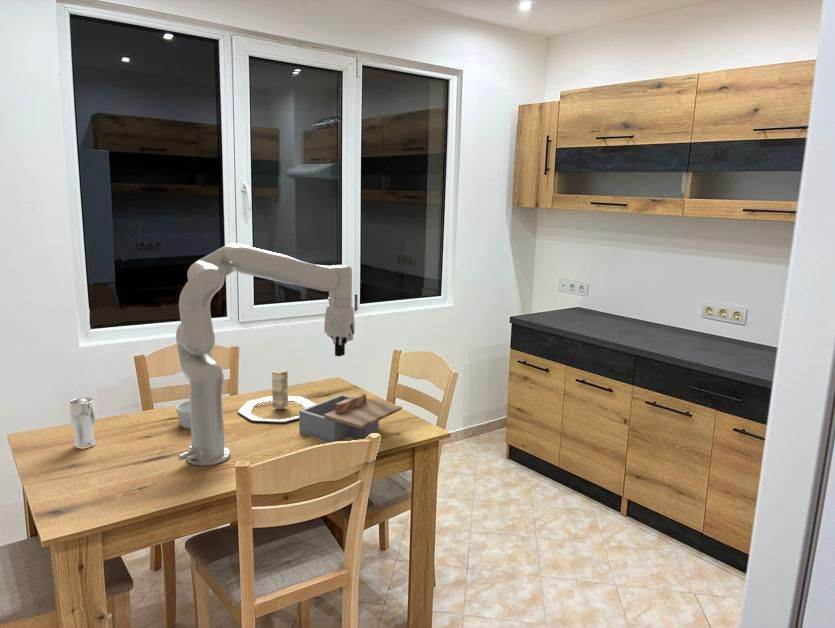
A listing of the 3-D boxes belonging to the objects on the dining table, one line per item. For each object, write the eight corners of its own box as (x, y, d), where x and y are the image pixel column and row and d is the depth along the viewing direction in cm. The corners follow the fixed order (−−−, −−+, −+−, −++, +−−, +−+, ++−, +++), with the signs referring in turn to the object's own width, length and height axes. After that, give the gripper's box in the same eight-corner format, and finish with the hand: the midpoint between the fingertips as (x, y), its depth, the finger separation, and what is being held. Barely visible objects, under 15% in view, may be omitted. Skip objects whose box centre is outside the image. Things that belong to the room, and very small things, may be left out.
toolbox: (350, 449, 196) (350, 426, 194) (299, 432, 208) (299, 410, 207) (391, 429, 214) (391, 407, 212) (341, 414, 226) (341, 394, 225)
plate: (227, 409, 230) (227, 405, 230) (291, 394, 248) (291, 391, 248) (262, 431, 210) (262, 427, 210) (329, 413, 228) (329, 409, 228)
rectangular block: (280, 409, 227) (279, 373, 225) (272, 407, 229) (271, 371, 227) (288, 406, 231) (287, 371, 228) (280, 404, 233) (279, 369, 230)
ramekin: (180, 433, 205) (179, 414, 204) (174, 420, 216) (173, 402, 215) (220, 427, 211) (220, 408, 210) (213, 415, 223) (212, 397, 221)
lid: (361, 428, 192) (361, 416, 191) (323, 417, 201) (323, 405, 200) (401, 409, 210) (401, 398, 209) (365, 399, 218) (365, 389, 218)
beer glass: (102, 442, 196) (99, 398, 193) (85, 451, 189) (81, 405, 186) (84, 439, 198) (81, 396, 195) (67, 448, 191) (63, 403, 188)
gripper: (316, 300, 204) (316, 353, 207) (349, 306, 195) (349, 361, 199) (331, 298, 210) (331, 349, 213) (364, 303, 201) (363, 357, 205)
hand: (339, 355), depth 206 cm, fingers closed
